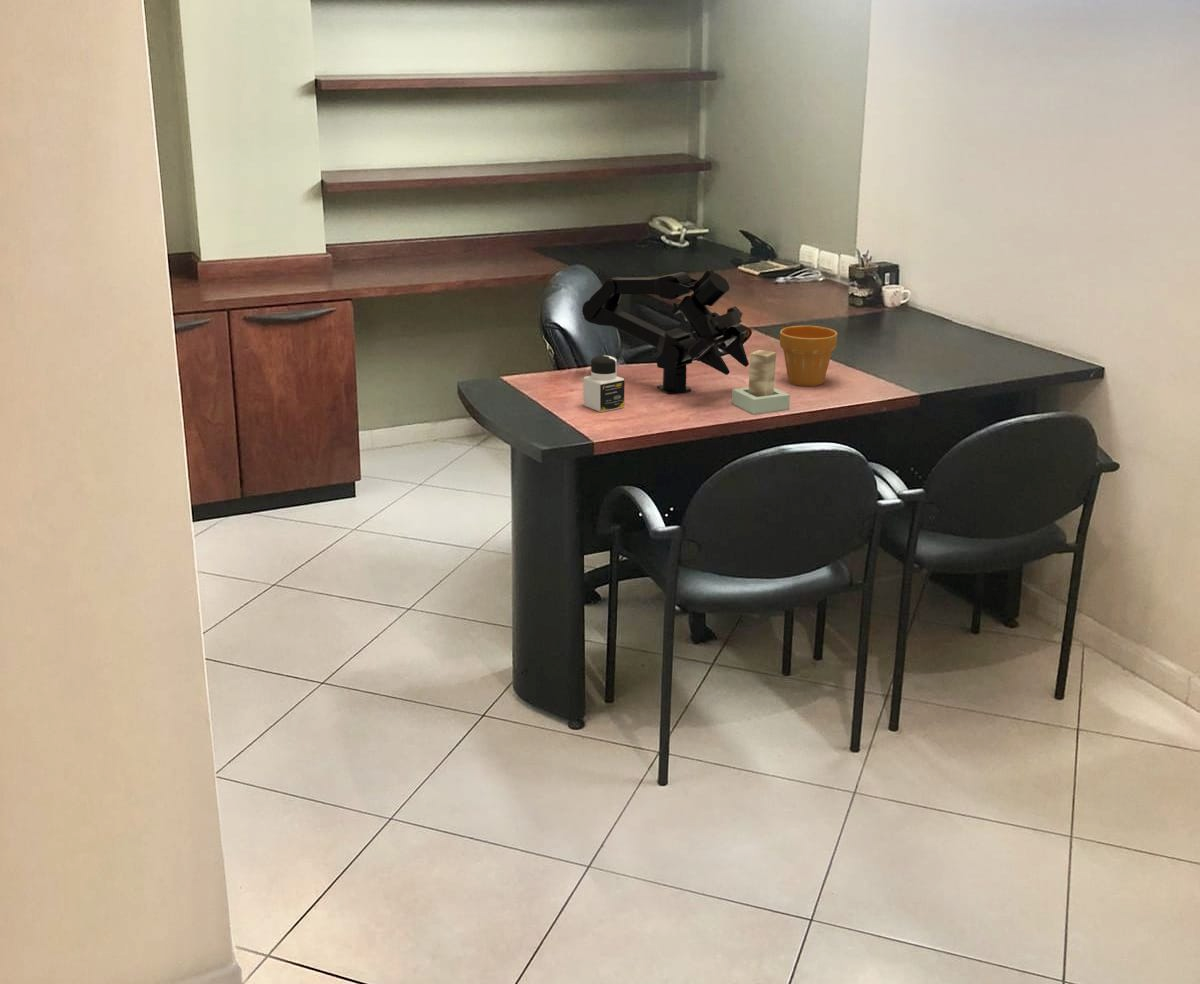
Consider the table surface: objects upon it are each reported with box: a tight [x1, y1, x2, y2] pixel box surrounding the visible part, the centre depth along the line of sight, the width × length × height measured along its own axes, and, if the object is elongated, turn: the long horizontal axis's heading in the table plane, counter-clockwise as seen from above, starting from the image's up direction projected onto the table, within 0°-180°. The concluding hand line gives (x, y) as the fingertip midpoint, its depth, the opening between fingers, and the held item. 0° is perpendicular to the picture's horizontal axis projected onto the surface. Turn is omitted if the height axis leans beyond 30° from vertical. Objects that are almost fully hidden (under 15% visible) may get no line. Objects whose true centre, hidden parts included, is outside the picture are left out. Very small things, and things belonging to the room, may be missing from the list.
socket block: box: [731, 386, 791, 415], centre depth 290 cm, size 10×10×4 cm
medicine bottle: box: [582, 355, 625, 413], centre depth 288 cm, size 7×7×12 cm
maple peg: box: [748, 349, 777, 397], centre depth 289 cm, size 4×4×13 cm
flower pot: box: [779, 325, 838, 387], centre depth 309 cm, size 14×14×13 cm
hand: (738, 369), depth 292 cm, fingers open, 9 cm apart
